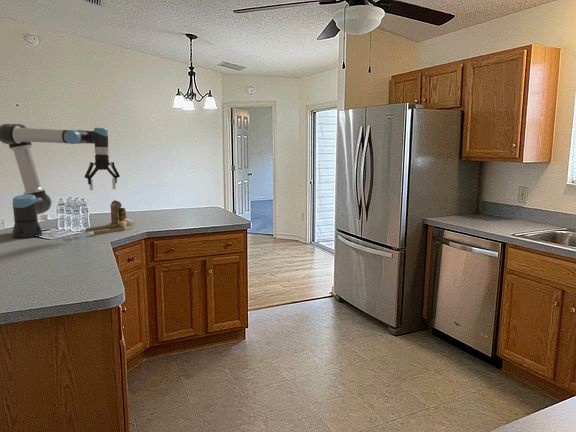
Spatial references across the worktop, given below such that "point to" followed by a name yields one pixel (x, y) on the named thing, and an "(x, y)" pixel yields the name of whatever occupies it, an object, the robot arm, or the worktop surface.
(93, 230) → the brown wooden tray
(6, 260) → the worktop surface
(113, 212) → the brown tall block
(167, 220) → the worktop surface
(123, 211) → the brown animal figurine
